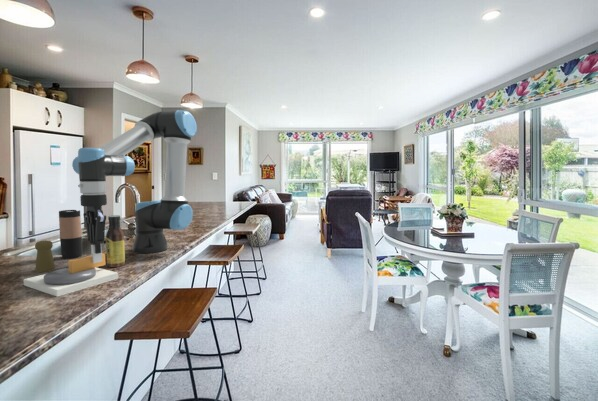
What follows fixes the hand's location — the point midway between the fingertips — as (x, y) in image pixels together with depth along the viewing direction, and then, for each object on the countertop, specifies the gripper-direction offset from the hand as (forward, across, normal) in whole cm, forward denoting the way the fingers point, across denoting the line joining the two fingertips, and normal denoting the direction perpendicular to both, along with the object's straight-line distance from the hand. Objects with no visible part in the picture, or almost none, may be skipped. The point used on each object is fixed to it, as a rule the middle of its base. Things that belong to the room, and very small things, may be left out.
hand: (97, 262), depth 113 cm
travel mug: (+6, -39, +4) cm, 40 cm away
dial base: (+6, -3, -7) cm, 9 cm away
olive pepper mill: (+6, -26, -8) cm, 28 cm away
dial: (+3, -1, -6) cm, 7 cm away
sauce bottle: (+6, -11, +11) cm, 16 cm away
